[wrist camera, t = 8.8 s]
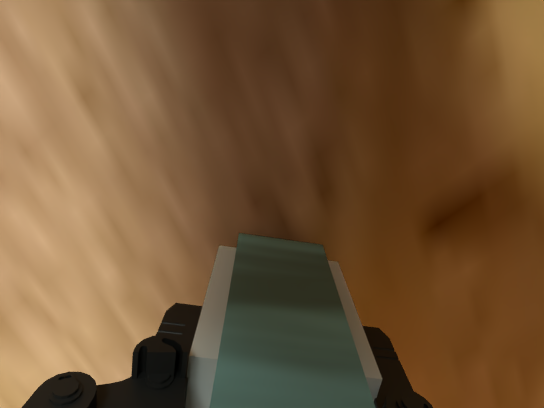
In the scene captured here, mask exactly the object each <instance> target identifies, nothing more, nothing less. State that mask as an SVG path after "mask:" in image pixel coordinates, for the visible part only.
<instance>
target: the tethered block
mask: <svg viewBox="0 0 544 408" xmlns="http://www.w3.org/2000/svg"><path fill="white" fill-rule="evenodd" d="M209 408H376V407H375V404H374V401H373V398H372V395H371V392H370V389H369V386H368V383H367V380H366V377H365V374H364V371H363V367H362V364H361V361H360V358H359V355H358V352H357V349H356V346H355V343H354V340H353V337H352V334H351V331H350V327H349V324H348V321H347V318H346V315H345V312H344V309H343V306H342V303H341V300H340V297H339V294H338V291H337V287H336V284H335V281H334V278H333V275H332V272H331V269H330V266H329V263H328V260H327V257H326V254H325V251H324V247H323V245H320V244H313V243H306V242H299V241H292V240H285V239H278V238H271V237H264V236H257V235H250V234H243V233H239V236H238V242H237V248H236V254H235V260H234V266H233V271H232V277H231V283H230V289H229V295H228V301H227V307H226V313H225V319H224V324H223V330H222V336H221V342H220V348H219V354H218V360H217V366H216V372H215V377H214V383H213V389H212V395H211V401H210V407H209Z"/></svg>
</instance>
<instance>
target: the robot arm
mask: <svg viewBox="0 0 544 408" xmlns="http://www.w3.org/2000/svg"><path fill="white" fill-rule="evenodd" d="M235 254H236V248H235V247H228V246H221V245H219V248H218V252H217V255H216V259H215V263H214V266H213V270H212V274H211V277H210V281H209V285H208V288H207V292H206V296H205V299H204V303H203V306H196V305H188V304H180V303H175V304H174V305H173V306H172V307H171V308H169V309H168V310H167V311H166V313H165V315H164V317H163V320H162V323H161V325H160V327H159V329H158V332H157V334H156V336H152V337H149V338H146V339H144V340H142V341H141V342H140V343H139V344H137V345H136V347H135V349H134V351H133V360H132V376H131V377H130V378H128V379H125V380H123V381H120V382H115V383H110V384H103V385H96V382H95V380H94V379H93V378H92V377H91V376H90V375H88V374H85V373H82V372H67V373H62V374H58V375H56V376H54V377H52V378H50V379H48V380H46V381H45V382H44V383H43V384H42V385H41V386H39V387H38V388H37V390H36V391H35V392H34V393H33V394H32V396H31V397H30V398H29V399H28V401H27V402H26V403H25V404H24V405H23V407H22V408H209V407H210V401H211V395H212V389H213V383H214V377H215V372H216V366H217V360H218V354H219V348H220V342H221V336H222V330H223V324H224V319H225V313H226V307H227V301H228V295H229V289H230V283H231V277H232V271H233V266H234V260H235ZM328 263H329V266H330V269H331V272H332V275H333V278H334V281H335V284H336V287H337V291H338V294H339V297H340V300H341V303H342V306H343V309H344V312H345V315H346V318H347V321H348V324H349V327H350V331H351V334H352V337H353V340H354V343H355V346H356V349H357V352H358V355H359V358H360V361H361V364H362V367H363V371H364V374H365V377H366V380H367V383H368V386H369V389H370V392H371V395H372V398H373V401H374V404H375V407H376V408H433V407H432V405H431V404H430V403H429V402H428V401H427V400H426V399H425V398H423V397H422V396H420V395H419V394H417V393H416V392H414V391H413V389H412V387H411V385H410V382H409V380H408V378H407V376H406V374H405V372H404V369H403V367H402V365H401V363H400V361H398V356H397V354H396V352H395V351H394V348H393V346H392V343H391V341H390V339H389V338H388V337H387V336H386V335H385V334H384V333H383V332H382V331H381V330H380V329H379V328H375V327H367V326H362V324H361V321H360V319H359V316H358V313H357V311H356V308H355V305H354V303H353V300H352V297H351V295H350V292H349V290H348V287H347V284H346V282H345V279H344V276H343V274H342V271H341V268H340V266H339V263H338V262H336V261H329V260H328Z"/></svg>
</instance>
